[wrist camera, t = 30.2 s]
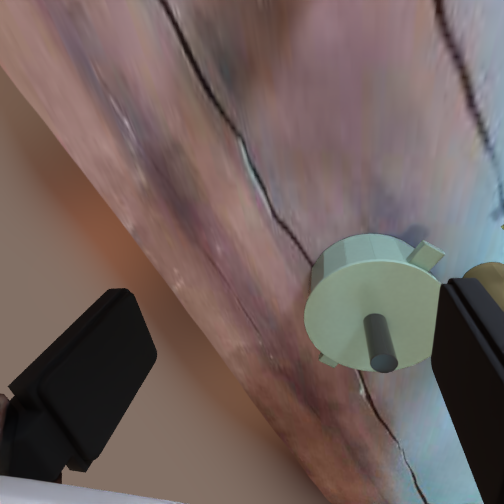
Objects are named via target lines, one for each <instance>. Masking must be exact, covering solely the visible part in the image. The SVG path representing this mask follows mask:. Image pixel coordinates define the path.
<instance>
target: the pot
mask: <svg viewBox="0 0 504 504" xmlns="http://www.w3.org/2000/svg"><path fill="white" fill-rule="evenodd" d="M444 255H445V254H444V252H443V251H442V250H441V249H439V248H437V247H435V246H433V245H432V244H430V243H428V242H426V241H424V240H422V241H421V243H420V244H419V245H418V246H417V247H416V248H413V247H411V246H410V245H408V244H407V243H405V242H404V241H402V240H399V239H397V238H395V237H391V236H388V235H382V234H361V235H355V236H351V237H348V238H345V239H343V240H340V241H338V242H337V243H335V244H333V245H332V246H330V247H329V248H327V249H326V250H325V251H324V252H323V253H322V254H321V255H320V257H319V258H318V259H317V261H316V263H315V264H314V266H313V267H312V271H311V277H310V283H309V294H310V293H311V291H312V290H313V288H314V287H315V286H316V285H317V283H318V282H319V281H320V280H321V279H323V278H324V277H325V276H326V275H328V274H329V273H331V272H332V271H334V270H336V269H338V268H340V267H342V266H345V265H347V264H350V263H354V262H358V261H362V260H369V259H390V260H397V261H402V262H406V263H409V264H412V265H415V266H417V267H419V268H421V269H423V270H425V271H426V272H428V273H430V274H431V275H432V273H431V271H430V270H431V269H432V268H433V267H434V266H435V265H436V264H437V262H438V261H439V260H440V259H441V258H442V257H443V256H444ZM432 276H433V275H432ZM308 296H309V295H308ZM319 361H321V362H323V363H325V364H327V365H329V366H331V367H333V368H335V367H336V366H337V365H338V364H339V363H337V362H335V361H333V360H331V359H330V358H328V357H327V356H325V355H324V354H323V353H322V352H321V353H320V354H319Z"/></svg>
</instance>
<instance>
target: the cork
mask: <svg viewBox="0 0 504 504" xmlns="http://www.w3.org/2000/svg"><path fill="white" fill-rule="evenodd" d="M463 278H476V279H478V280H479V282H480V283H481V284H482V285H483V287H484V288H485V289H486V290H487V292H488V293H489V294H490V295H491V297H492V298H493V299H494V301H495V302H496V303H497V304H498V306H499V307H500V308H501V309H502V311H503V312H504V264H502V263H495V262H489V263H484V264H480V265H478V266H475V267H473V268H472V269H470V270H469V271H468V272H467V273H466V274H465V275H464V276H463Z"/></svg>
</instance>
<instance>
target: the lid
mask: <svg viewBox="0 0 504 504" xmlns="http://www.w3.org/2000/svg"><path fill="white" fill-rule="evenodd" d="M441 285H442V284H441V283H440V282H439V281H438V280H437V279H436V278H435V277H434V276H432V275H431V274H430V273H428V272H426V271H425V270H423V269H421V268H419V267H417V266H415V265H412V264H409V263H406V262H402V261H397V260H390V259H369V260H362V261H358V262H354V263H350V264H347V265H345V266H342V267H340V268H338V269H336V270H334V271H332V272H331V273H329V274H328V275H326V276H325V277H324V278H323V279H321V280H320V281H319V282H318V283H317V285H316V286H315V287H314V288H313V290H312V291H311V293H310V294H309V296H308V299H307V301H306V305H305V309H304V324H305V328H306V331H307V334H308V336H309V338H310V339H311V341H312V343H313V344H314V345H315V346H316V348H317V349H318V350H319V351H321V352H322V353H323V354H324V355H325V356H327V357H328V358H330V359H331V360H333V361H335V362H337V363H339V364H341V365H344V366H347V367H350V368H353V369H357V370H363V371H374V372H381V373H388V372H392V371H394V370H398V369H403V368H406V367H409V366H412V365H415V364H417V363H419V362H421V361H423V360H425V359H427V358H428V357H430V356H431V355H432V347H433V339H434V331H435V323H436V315H437V307H438V299H439V291H440V286H441Z"/></svg>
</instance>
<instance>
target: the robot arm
mask: <svg viewBox="0 0 504 504" xmlns="http://www.w3.org/2000/svg"><path fill="white" fill-rule="evenodd" d="M156 359H157V351H156V348H155V345H154V343H153V340H152V338H151V335H150V333H149V331H148V328H147V326H146V323H145V321H144V318H143V316H142V313H141V311H140V308H139V306H138V303H137V301H136V298H135V296H134V294H132V293H131V292H130V291H129V290H128V289H125V288H122V289H121V288H118V289H109V290H107V291H106V292H105V293H104V294H103V295H102V296H101V297H100V298H99V299H98V300H97V301H96V302H95V303H94V304H93V305H91V306H90V307H89V308H88V309H87V310H86V311H85V312H84V313H83V314H82V315H81V316H80V317H79V318H78V319H77V320H76V321H75V322H74V323H73V324H72V325H71V326H70V327H69V328H68V329H67V330H66V331H65V332H64V333H63V334H62V335H61V336H59V337H58V338H57V339H56V340H55V341H54V342H53V343H52V344H51V345H50V346H49V347H48V348H47V349H46V350H45V351H44V352H43V353H42V354H41V355H40V356H39V357H38V358H37V359H36V360H35V361H34V362H33V363H32V364H30V365H29V366H28V367H27V368H26V369H25V370H24V371H23V372H22V373H21V374H20V375H19V376H18V377H17V378H16V379H15V380H14V381H13V382H12V383H11V384H10V385H9V386H8V387H9V388H10V390H11V391H12V393H13V394H14V395H15V396H14V397H13V398H12V399H11V400H10V401H9V399H8V398H7V397H6V396H5V395H4V394H0V504H187V503H181V502H175V501H168V500H162V499H156V498H149V497H142V496H136V495H130V494H124V493H117V492H110V491H104V490H97V489H91V488H84V487H78V486H71V485H65V484H62V473H61V471H62V470H63V468H64V467H65V465H67V467H68V468H69V470H72V471H79V472H86V471H87V470H88V468H89V466H90V465H91V463H92V462H93V460H95V459H96V458H98V457H99V455H100V454H101V452H102V450H103V449H104V447H105V445H106V444H107V442H108V440H109V439H110V437H111V435H112V434H113V432H114V430H115V429H116V427H117V425H118V424H119V422H120V420H121V419H122V417H123V415H124V413H125V412H126V410H127V409H128V407H129V405H130V403H131V401H132V400H133V398H134V397H135V395H136V393H137V392H138V390H139V388H140V387H141V385H142V383H143V382H144V380H145V378H146V376H147V375H148V373H149V372H150V370H151V368H152V367H153V365H154V363H155V361H156ZM431 365H432V370H433V373H434V375H435V378H436V381H437V383H438V386H439V388H440V391H441V394H442V396H443V399H444V401H445V404H446V407H447V409H448V412H449V414H450V417H451V420H452V422H453V425H454V427H455V430H456V433H457V435H458V438H459V440H460V443H461V446H462V448H463V451H464V453H465V456H466V458H467V461H468V464H469V466H470V469H471V471H472V474H473V477H474V479H475V482H476V484H477V487H478V490H479V492H480V495H481V497H482V500H483V502H484V504H504V312H503V311H502V309H501V308H500V307H499V306H498V304H497V303H496V302H495V301H494V299H493V298H492V297H491V295H490V294H489V293H488V292H487V290H486V289H485V288H484V287H483V285H482V284H481V283H480V282H479V280H478V279H476V278H451V279H449V281H448V283H447V284H442V285H441V286H440V291H439V299H438V307H437V315H436V323H435V331H434V339H433V347H432V355H431Z"/></svg>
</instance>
